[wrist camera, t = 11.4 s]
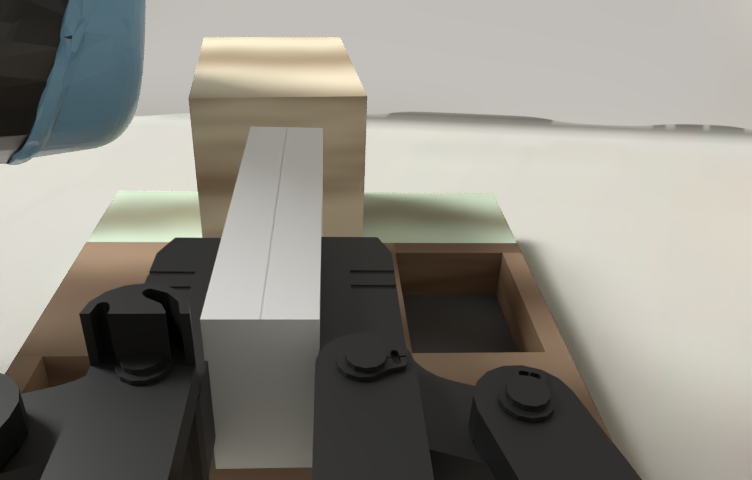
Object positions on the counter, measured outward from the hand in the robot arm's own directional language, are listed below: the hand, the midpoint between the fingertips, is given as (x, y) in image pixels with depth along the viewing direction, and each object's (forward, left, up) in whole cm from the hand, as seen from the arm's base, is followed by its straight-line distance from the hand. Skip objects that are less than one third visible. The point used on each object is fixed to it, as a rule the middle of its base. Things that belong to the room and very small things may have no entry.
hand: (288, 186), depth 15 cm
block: (-8, +16, -11) cm, 21 cm away
